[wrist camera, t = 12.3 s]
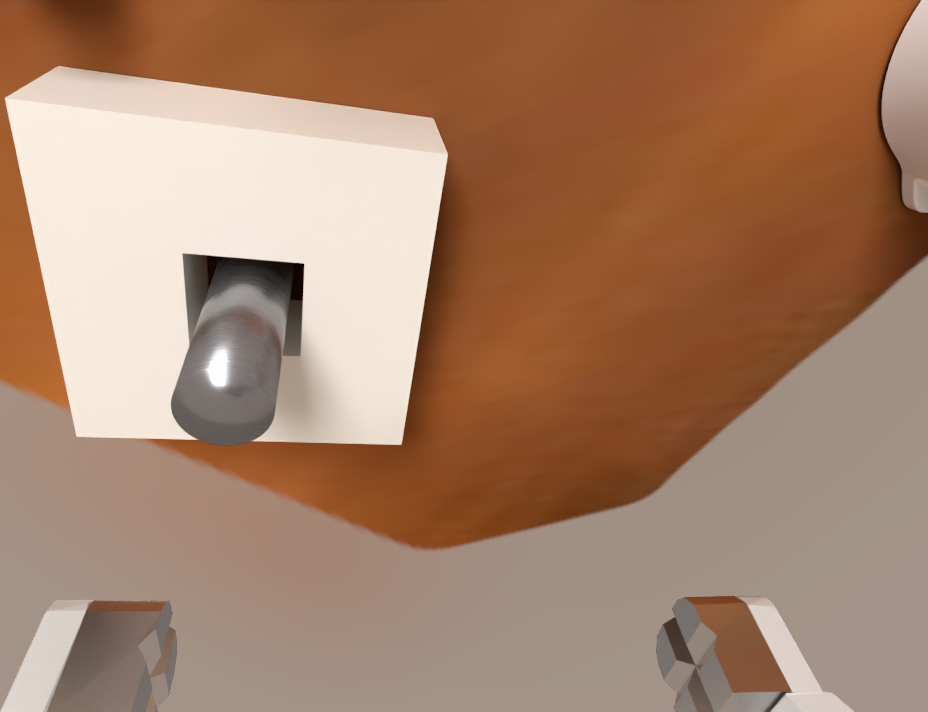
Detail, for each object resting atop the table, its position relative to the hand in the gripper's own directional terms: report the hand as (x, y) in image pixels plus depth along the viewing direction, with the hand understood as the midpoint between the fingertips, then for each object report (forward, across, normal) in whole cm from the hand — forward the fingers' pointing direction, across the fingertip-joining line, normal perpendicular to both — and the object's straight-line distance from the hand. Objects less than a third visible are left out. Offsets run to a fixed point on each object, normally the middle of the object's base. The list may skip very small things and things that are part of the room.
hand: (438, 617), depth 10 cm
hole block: (+29, +7, +9) cm, 31 cm away
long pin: (+29, +7, +9) cm, 31 cm away
